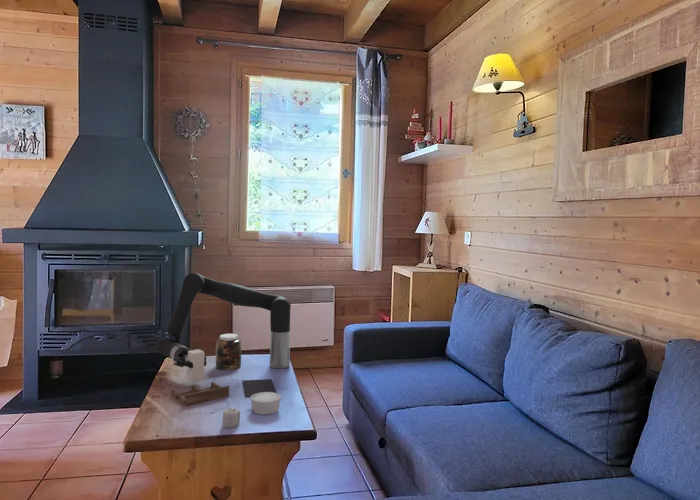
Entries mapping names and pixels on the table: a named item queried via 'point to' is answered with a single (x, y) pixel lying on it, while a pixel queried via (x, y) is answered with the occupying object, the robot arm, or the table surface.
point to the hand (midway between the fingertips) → (198, 364)
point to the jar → (228, 352)
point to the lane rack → (201, 394)
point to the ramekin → (265, 403)
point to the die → (231, 417)
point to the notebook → (257, 387)
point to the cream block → (196, 365)
